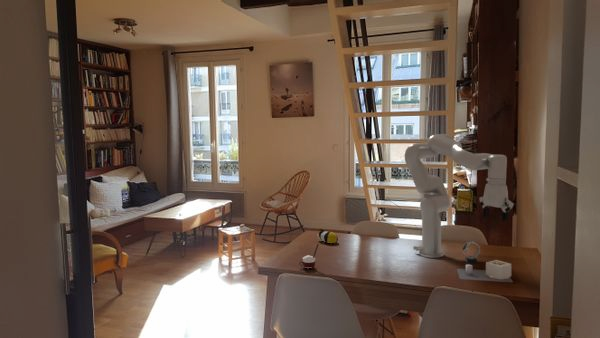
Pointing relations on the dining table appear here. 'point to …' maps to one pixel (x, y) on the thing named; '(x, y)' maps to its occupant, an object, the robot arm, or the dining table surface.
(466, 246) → the watch
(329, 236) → the figurine
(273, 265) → the dining table surface
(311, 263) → the cocoa
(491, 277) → the hub
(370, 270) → the dining table surface
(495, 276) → the square hollow frame
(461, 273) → the board
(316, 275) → the dining table surface
